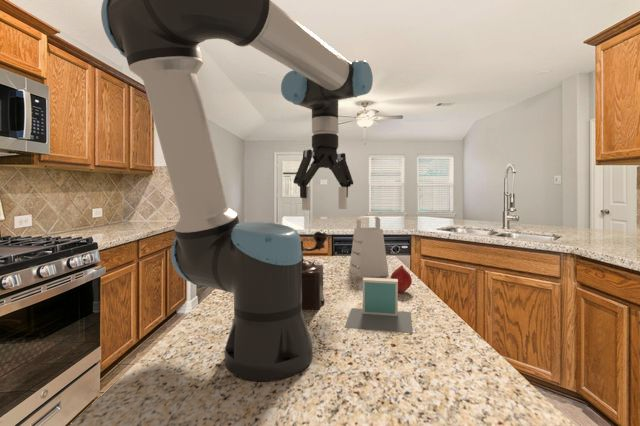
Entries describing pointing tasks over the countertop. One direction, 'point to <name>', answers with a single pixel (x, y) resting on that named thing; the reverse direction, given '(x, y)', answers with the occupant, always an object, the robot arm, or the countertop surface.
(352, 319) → the mat
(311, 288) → the manual coffee grinder
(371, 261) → the grater
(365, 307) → the tile
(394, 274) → the onion
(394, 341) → the countertop surface
